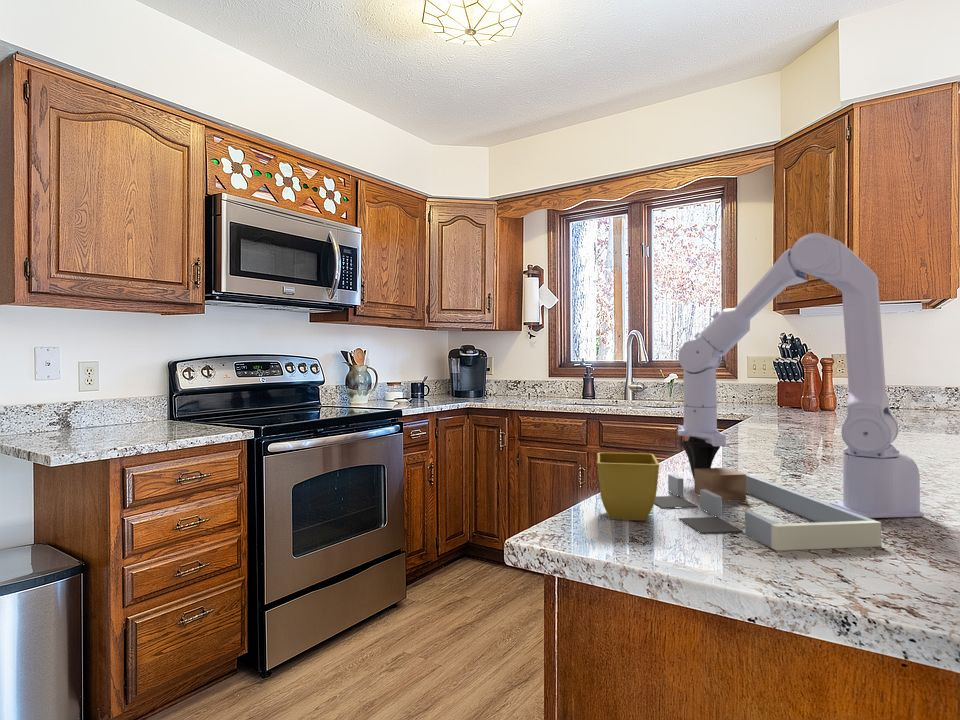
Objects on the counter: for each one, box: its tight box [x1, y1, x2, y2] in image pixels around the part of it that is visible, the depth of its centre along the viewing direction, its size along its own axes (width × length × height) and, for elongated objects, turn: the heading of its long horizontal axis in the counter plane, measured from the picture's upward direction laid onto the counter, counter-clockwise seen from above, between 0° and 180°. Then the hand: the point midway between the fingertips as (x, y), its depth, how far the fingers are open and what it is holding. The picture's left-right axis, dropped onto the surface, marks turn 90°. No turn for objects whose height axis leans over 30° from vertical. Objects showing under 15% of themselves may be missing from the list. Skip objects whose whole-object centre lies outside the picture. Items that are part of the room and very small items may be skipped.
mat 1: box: [653, 495, 699, 509], centre depth 94 cm, size 6×7×1 cm
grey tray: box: [667, 471, 874, 549], centre depth 88 cm, size 14×31×3 cm, turn 5°
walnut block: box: [693, 467, 747, 502], centre depth 98 cm, size 6×6×4 cm
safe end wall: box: [770, 519, 882, 551], centre depth 72 cm, size 14×1×3 cm, turn 95°
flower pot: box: [596, 451, 660, 522], centre depth 86 cm, size 9×9×9 cm
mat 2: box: [678, 516, 744, 534], centre depth 81 cm, size 6×7×1 cm
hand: (700, 479), depth 105 cm, fingers closed
